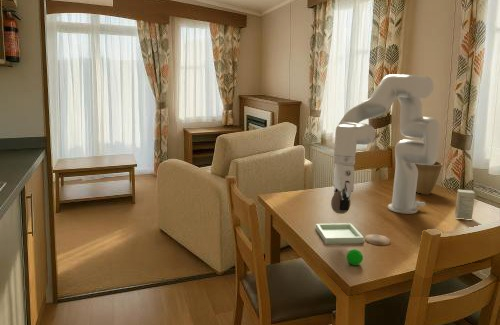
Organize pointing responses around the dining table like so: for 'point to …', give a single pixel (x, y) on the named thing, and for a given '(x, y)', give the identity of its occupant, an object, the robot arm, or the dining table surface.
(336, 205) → the vase
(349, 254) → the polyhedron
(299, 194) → the dining table surface
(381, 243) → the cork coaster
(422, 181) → the plant pot
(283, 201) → the dining table surface
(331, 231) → the tray
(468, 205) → the skincare box
